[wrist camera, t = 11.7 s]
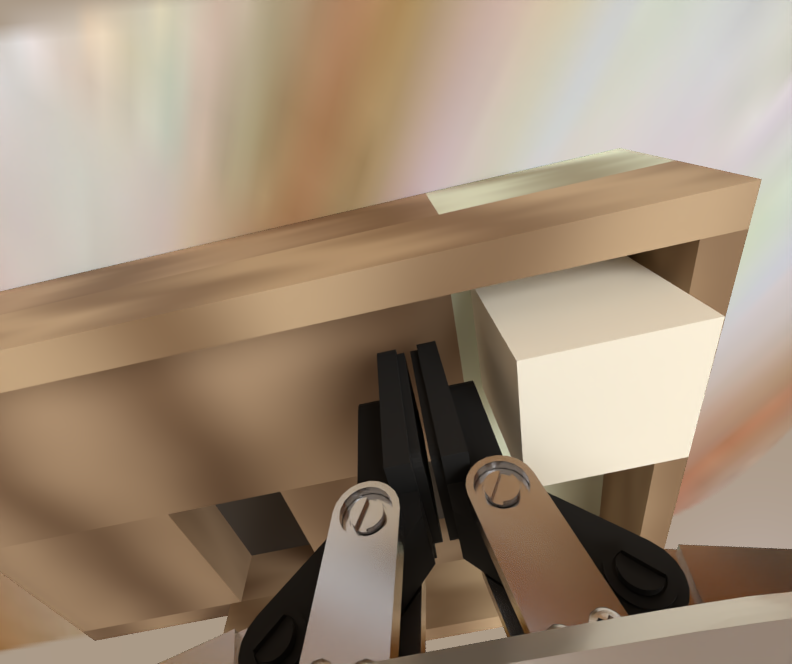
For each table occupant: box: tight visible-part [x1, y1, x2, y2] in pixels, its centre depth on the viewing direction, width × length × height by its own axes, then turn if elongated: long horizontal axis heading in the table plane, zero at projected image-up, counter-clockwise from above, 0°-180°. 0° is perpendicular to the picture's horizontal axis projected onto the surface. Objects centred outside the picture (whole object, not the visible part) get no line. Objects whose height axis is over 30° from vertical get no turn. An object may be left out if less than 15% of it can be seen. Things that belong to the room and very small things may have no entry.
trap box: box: [0, 148, 762, 641], centre depth 15 cm, size 26×17×5 cm, turn 102°
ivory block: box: [470, 256, 725, 486], centre depth 10 cm, size 4×4×4 cm
